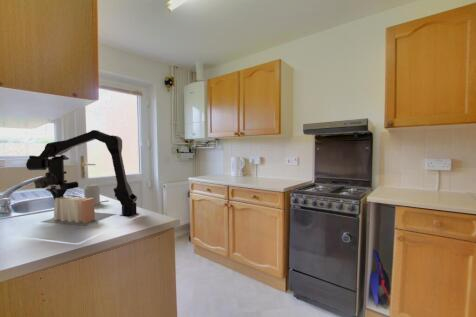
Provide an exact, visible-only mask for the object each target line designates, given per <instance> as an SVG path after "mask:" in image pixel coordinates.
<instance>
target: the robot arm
mask: <svg viewBox="0 0 476 317" xmlns="http://www.w3.org/2000/svg"><path fill="white" fill-rule="evenodd" d="M95 140H97V141H99V142H101V143H104V144H105V146H106V148H107V149H106V150H108V152H109V153H110V155H111V161H112V164H113V170H114V174H115V181H116V187H114V188H113V192H114V198H116V200H117V201H119V203H120V205H121V214H120V217H125V218H130V217H134V216H136V215H139V214H140V213H139V212H137V203H136V202H137V200H138V196H136V195H135V194H134V193H133V190H132V188H131V185H130V184H129V182H128V180H127V175H126V170H125V165H124V160H123V156H122V155H123V154H122V151H123V139H122V138H121V137H120V136H118V135H110V134H108V133H104V132H102V131H100V130H95V129H92V130H90V131H88V132H86V133H82V134H79V135H77V136H74V137H72V138H71V137H70V138H67V139H66V140H58V141H53V142H47V143H46V144H45V146H44V149H43V150H42V152H41V153H40V154H39V155H36V154H35V155H34V154H33V155H29V157H28V159H27V161H26V164H25V166H26V169H28V170H27V171H46V170H47V169H48V172H45V175H44V176H43V177H40V178H38V179H37V180H36V179H35V180H34V181H33V183H34V186H35V189H44V190H45V191H48V192H49V193H50V194H51V196H52V197H53V200H54V201H55V198H59V197H64V196H65V193H66V192H67V191H68V190H72V189H76V188H77V189H78V188H79V182H78V181H77V180H75V181H73V180H72V181H71V180H70V181H67V179H65V174H67V171H65V165H64V162H65V161H67V160H70V158H69V157H67V156H66V155H65V154H66V153H67V152H70V150H71V149H73V148H75V147H79V146H81V145H83V144H86V143H89V142H92V141H95Z"/></svg>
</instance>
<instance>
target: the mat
mask: <svg viewBox="0 0 476 317" xmlns="http://www.w3.org/2000/svg"><path fill="white" fill-rule="evenodd" d="M115 215H116V213H109V212H108V213H107V212H96V211H95V220H92V221H89V222H87V223H82V221H80V222H75V220H74V221H71V222H69V221H68V220H65V221H61V219H59V220H54V217H52V218H48V219H45V220H42V221H41V223H45V224H48V223H49V224H55V225H56V224H58V225H64V226H65V225H67V226H78V227H86V226H90V225H91V224H94V223H97V222H100V221H102V220H104V219H106V218H110V217H112V216H115Z"/></svg>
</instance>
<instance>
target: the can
mask: <svg viewBox="0 0 476 317" xmlns="http://www.w3.org/2000/svg"><path fill="white" fill-rule="evenodd" d="M83 192H84V194H83V196H84V197H85V198H87V199H89V198H94V206H98V205H100V204H101V194H100V193H101V192H100V186H99V184H87V185H85V186H84V188H83ZM84 197H83V198H84Z"/></svg>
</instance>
